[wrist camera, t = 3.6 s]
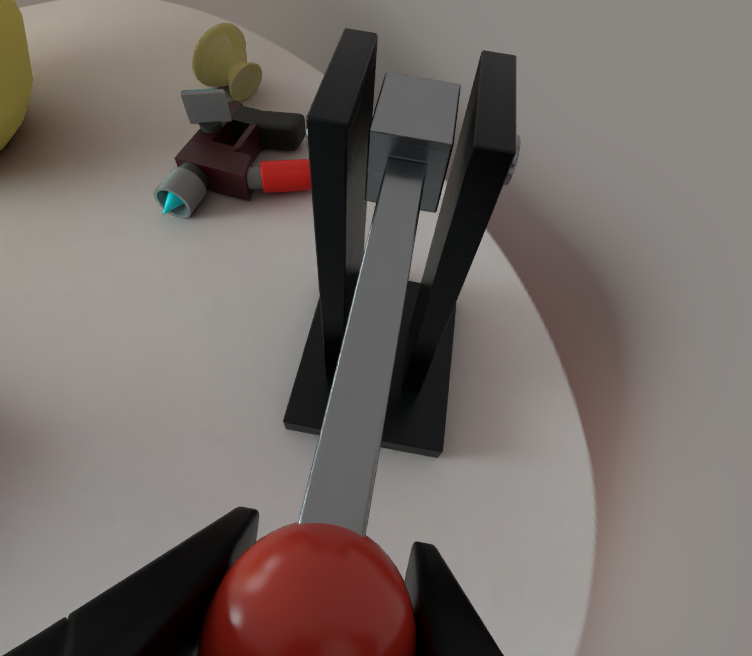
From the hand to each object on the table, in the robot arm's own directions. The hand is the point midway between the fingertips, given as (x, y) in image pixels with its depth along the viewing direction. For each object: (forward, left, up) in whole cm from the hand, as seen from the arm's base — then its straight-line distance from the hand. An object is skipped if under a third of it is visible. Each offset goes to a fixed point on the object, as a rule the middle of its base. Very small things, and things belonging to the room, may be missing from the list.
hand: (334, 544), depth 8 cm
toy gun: (+25, +7, -13) cm, 29 cm away
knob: (+36, +10, -13) cm, 39 cm away
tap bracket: (+11, -2, -13) cm, 16 cm away
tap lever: (+4, -1, 0) cm, 4 cm away
